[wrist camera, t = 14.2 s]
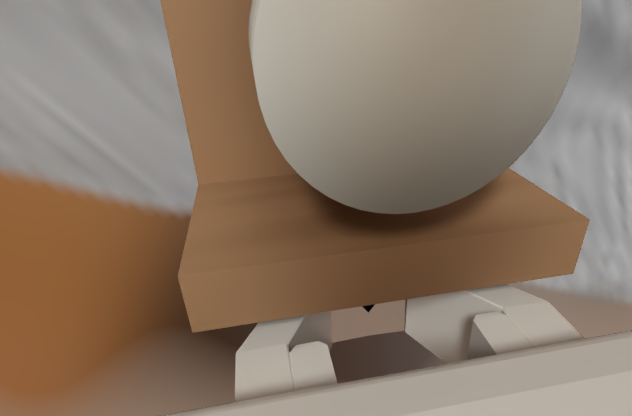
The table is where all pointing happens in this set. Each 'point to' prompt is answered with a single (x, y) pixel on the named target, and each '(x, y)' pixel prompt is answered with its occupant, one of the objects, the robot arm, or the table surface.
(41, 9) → the table surface
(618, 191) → the table surface
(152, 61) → the table surface
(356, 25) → the tray
